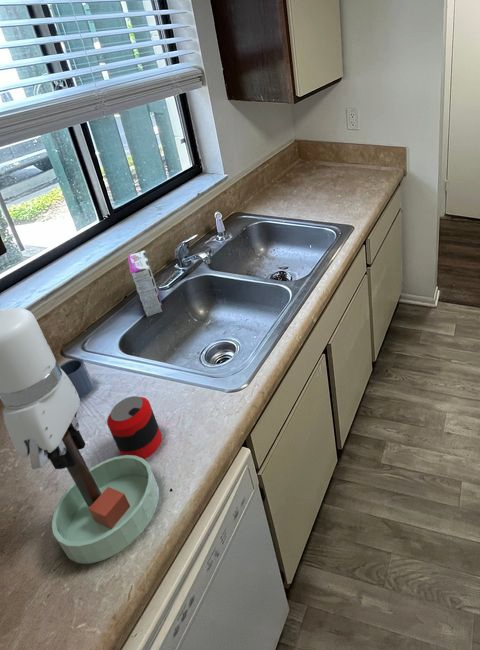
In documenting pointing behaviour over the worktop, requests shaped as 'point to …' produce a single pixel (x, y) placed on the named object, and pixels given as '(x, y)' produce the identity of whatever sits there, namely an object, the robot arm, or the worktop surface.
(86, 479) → the stirring stick
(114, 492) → the block
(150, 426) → the soda can
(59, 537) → the bowl
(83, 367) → the utensil holder
